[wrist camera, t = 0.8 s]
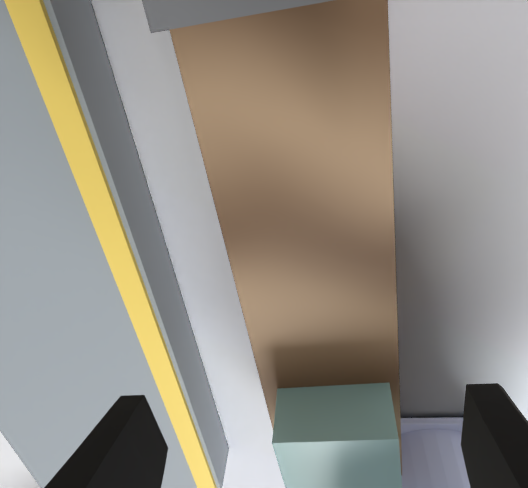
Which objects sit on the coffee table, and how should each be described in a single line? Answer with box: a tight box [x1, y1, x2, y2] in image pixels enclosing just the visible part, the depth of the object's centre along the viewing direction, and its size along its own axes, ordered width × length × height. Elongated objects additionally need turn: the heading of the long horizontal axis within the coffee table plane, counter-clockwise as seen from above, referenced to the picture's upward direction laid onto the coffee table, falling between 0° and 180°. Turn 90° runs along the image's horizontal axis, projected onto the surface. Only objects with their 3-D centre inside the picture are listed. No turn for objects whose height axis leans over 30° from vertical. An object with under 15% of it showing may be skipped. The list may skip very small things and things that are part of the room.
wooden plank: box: [170, 0, 402, 476], centre depth 17 cm, size 26×6×4 cm, turn 10°
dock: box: [0, 0, 229, 488], centre depth 19 cm, size 30×11×3 cm, turn 9°
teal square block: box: [272, 383, 402, 488], centre depth 18 cm, size 4×4×2 cm
